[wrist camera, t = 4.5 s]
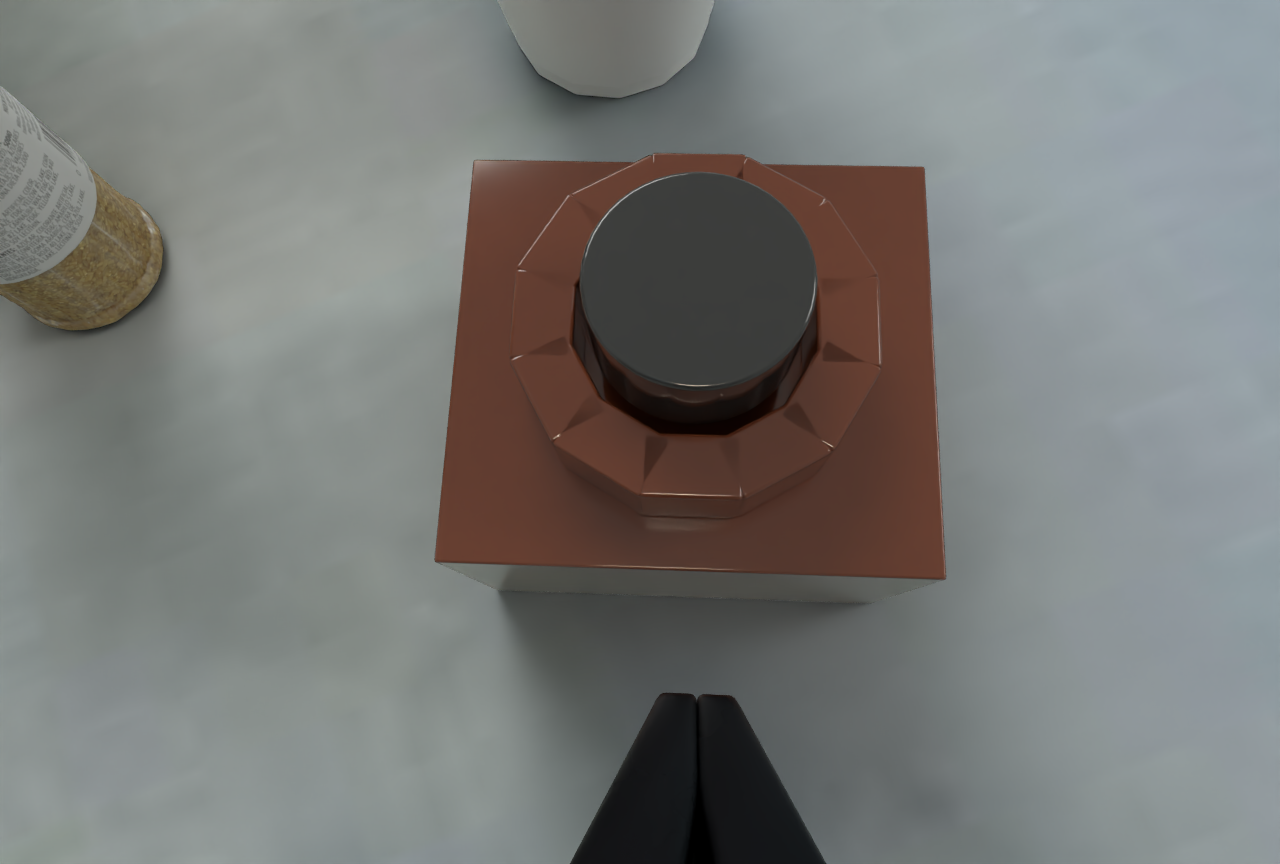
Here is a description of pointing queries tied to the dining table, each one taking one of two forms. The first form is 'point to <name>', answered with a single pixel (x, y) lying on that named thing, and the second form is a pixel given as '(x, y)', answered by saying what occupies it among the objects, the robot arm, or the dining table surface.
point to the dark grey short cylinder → (697, 295)
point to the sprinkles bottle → (67, 231)
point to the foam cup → (608, 41)
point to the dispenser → (694, 453)
